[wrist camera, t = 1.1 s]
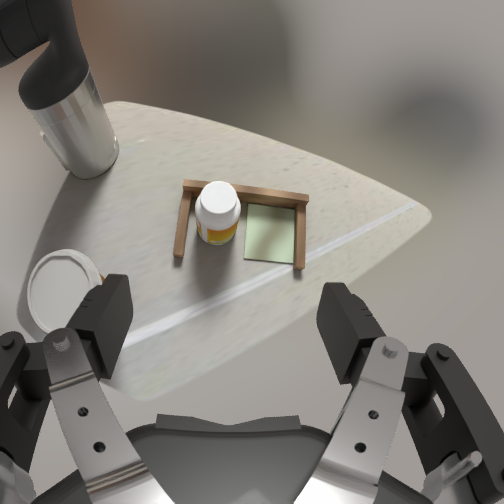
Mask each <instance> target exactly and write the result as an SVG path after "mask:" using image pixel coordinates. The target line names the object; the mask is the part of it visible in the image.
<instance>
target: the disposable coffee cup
mask: <svg viewBox="0 0 504 504" xmlns="http://www.w3.org/2000/svg"><path fill="white" fill-rule="evenodd" d="M104 280H105V278H104V277H103V276H102V275H101V274H100V273H99V272H98V269H97V267H96V266H95V265H94V264H93V262H92V261H91V260H90V259H89V258H88V257H87V256H86V255H84V254H83V253H81V252H79V251H76V250H72V249H63V250H58V251H54V252H52V253H49V254H48V255H46V256H44V257H43V258H42V259H41V260H40V261H39V262H38V263H37V265H36V266H35V267H34V269H33V271H32V273H31V275H30V279H29V282H28V288H27V300H28V306H29V310H30V313H31V315H32V317H33V319H34V321H35V322H36V324H37V325H38V326H39V327H40V328H41V329H42V330H43V331H44V332H45V333H46V334H49V333H50V332H51V331H53V330H56V329H59V328H65V327H66V325H67V323H68V322H69V320H70V319H71V317H72V315H73V314H74V312H75V311H76V309H77V308H78V307H79V305H80V303H81V302H82V301H83V298H84V297H85V296H86V294H87V293H88V291H89V290H91V289H92V288H94V287H95V286H96V285H102V283H103V282H104Z"/></svg>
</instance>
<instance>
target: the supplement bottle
mask: <svg viewBox="0 0 504 504" xmlns="http://www.w3.org/2000/svg"><path fill="white" fill-rule="evenodd" d="M240 212H241V205H240V201H239V199H238V197H237V194H236V191H235V189H234V188H233V187H232V186H231V185H230V184H228V183H226V182H223V181H214V182H211V183H209V184H207V185H206V186H205V187H204V188H203V190H202V192H201V194H200V195H199V197H198V198H197V201H196V204H195V215H196V223H197V230H198V233H199V235H200V237H201V238H202V239H203V240H204V241H205V242H207V243H209V244H212V245H222V244H225V243H227V242H228V241H230V240H231V239H232V237H233V236H234V234H235V232H236V228H237V224H238V220H239V216H240Z"/></svg>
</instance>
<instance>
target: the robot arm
mask: <svg viewBox="0 0 504 504" xmlns="http://www.w3.org/2000/svg"><path fill="white" fill-rule="evenodd" d="M47 41H50V44H49V46H48V47H47V48H46V50H45V51H44V52H43V53H42V54H41V55H40V56H39V57H38V58H37V59H36V60H35V62H34V63H33V64H32V65H31V66H30V67H29V68H28V69H27V71H26V72H25V74H24V75H23V77H22V79H21V81H20V84H19V95H20V97H21V99H22V101H23V103H24V104H25V106H26V107H27V109H28V110H29V112H30V113H31V115H32V116H33V118H34V119H35V121H36V122H37V124H38V125H39V127H40V128H41V130H42V131H43V133H44V135H43V140H44V141H45V142H46V144H47V145H48V147H49V148H50V149H51V151H52V152H53V153H54V155H55V156H56V157H57V159H58V160H59V161H60V163H61V164H62V165H63V167H64V168H65V169H66V170H70V171H71V172H72V173H73V174H74V175H75V176H77V177H79V178H82V179H89V178H94V177H96V176H99V175H101V174H102V173H104V172H105V171H106V170H108V169H109V168H110V167H111V166H112V164H113V163H114V161H115V160H116V158H117V155H118V152H119V144H118V141H117V138H116V136H115V134H114V131H113V129H112V126H111V124H110V121H109V119H108V116H107V113H106V111H105V108H104V106H103V103H102V101H101V98H100V95H99V93H98V90H97V87H96V84H95V82H94V79H93V76H92V73H91V71H90V68H89V64H88V61H87V59H86V56H85V53H84V51H83V48H82V45H81V42H80V38H79V35H78V31H77V27H76V22H75V17H74V12H73V6H72V1H71V0H0V68H1V67H4V66H6V65H8V64H10V63H12V62H14V61H15V60H17V59H18V58H20V57H22V56H23V55H25V54H26V53H28V52H30V51H31V50H33V49H35V48H36V47H38V46H40V45H42V44H43V43H45V42H47ZM132 318H133V305H132V299H131V293H130V286H129V280H128V276H127V275H122V274H108V276H107V277H106V279H105V280H104V282H103V283H102V285H96V286H95V287H94V288H92V289H91V290H89V291H88V293H87V294H86V296H85V297H84V298H83V301H82V302H81V303H80V305H79V307H78V308H77V309H76V311H75V312H74V314H73V315H72V317H71V319H70V320H69V322H68V323H67V325H66V327H65V328H59V329H56V330H53V331H51V332H50V333H49V334H48V335H47V336H46V337H45V338H44V340H43V342H37V343H26V341H25V339H24V337H23V335H22V334H21V333H19V332H15V331H14V332H13V331H12V332H7V333H5V334H3V335H1V336H0V504H494V503H496V502H498V501H499V500H501V499H502V498H504V433H503V431H502V429H501V427H500V425H499V423H498V422H497V419H496V418H495V416H494V414H493V412H492V411H491V409H490V407H489V405H488V404H487V402H486V400H485V399H484V397H483V395H482V394H481V392H480V391H479V389H478V387H477V386H476V384H475V382H474V381H473V379H472V378H471V376H470V375H469V373H468V372H467V370H466V369H465V367H464V366H463V364H462V363H461V361H460V360H459V358H458V357H457V355H456V354H455V353H454V351H453V350H452V349H451V348H449V347H448V346H446V345H443V344H440V343H434V344H431V345H430V346H429V347H428V348H427V350H426V352H425V354H424V353H415V352H408V349H407V347H406V346H405V345H404V344H403V343H402V342H401V341H399V340H397V339H395V338H392V337H387V336H386V335H385V333H384V332H383V330H382V329H381V327H380V325H379V324H378V322H377V321H376V319H375V318H374V317H373V316H372V313H371V312H370V311H369V310H368V307H367V306H366V304H365V303H364V301H363V300H362V299H360V298H359V297H358V296H356V295H355V294H351V293H350V291H349V290H348V288H347V287H346V285H345V284H344V283H338V282H327V283H325V284H324V287H323V291H322V295H321V299H320V303H319V307H318V311H317V319H316V320H317V327H318V329H319V332H320V335H321V337H322V339H323V342H324V344H325V347H326V349H327V352H328V355H329V357H330V360H331V362H332V365H333V367H334V370H335V372H336V375H337V378H338V380H339V383H340V385H341V384H349V383H351V385H352V389H351V391H350V393H349V395H348V397H347V399H346V402H345V404H344V406H343V408H342V410H341V412H340V414H339V416H338V418H337V420H336V422H335V424H334V426H333V428H332V429H331V431H330V433H327V432H325V431H323V430H320V429H317V428H314V427H311V426H306V425H301V424H300V420H299V416H298V415H297V416H285V417H267V418H261V419H257V420H253V421H249V422H244V423H240V424H235V425H222V424H218V423H214V422H209V421H206V420H202V419H198V418H194V417H187V416H174V415H164V414H157V420H156V423H154V424H148V425H143V426H140V427H137V428H135V429H132V430H130V431H128V432H127V433H125V432H124V431H123V429H122V427H121V425H120V424H119V422H118V420H117V418H116V417H115V415H114V413H113V411H112V409H111V407H110V405H109V403H108V401H107V399H106V397H105V395H104V393H103V391H102V389H101V387H100V385H99V380H100V378H105V379H111V376H112V373H113V371H114V368H115V365H116V362H117V359H118V356H119V354H120V351H121V348H122V345H123V343H124V340H125V337H126V335H127V332H128V330H129V327H130V324H131V322H132ZM14 385H15V387H16V388H17V391H16V393H15V396H14V398H13V400H12V403H11V405H10V407H9V409H8V398H9V396H10V394H11V392H12V389H13V387H14ZM436 394H438V396H439V398H440V399H441V401H442V403H443V405H444V408H445V414H444V417H442V415H441V414H440V411H439V409H438V407H437V405H436V403H435V401H434V399H433V398H434V397H435V395H436ZM50 399H52V401H53V404H54V408H55V411H56V414H57V417H58V420H59V423H60V425H61V428H62V431H63V434H64V436H65V439H66V441H67V444H68V447H69V449H70V451H71V454H72V456H73V458H74V460H75V463H76V465H77V467H78V469H77V470H76V471H74V472H73V473H71V474H70V475H68V476H67V477H66V478H64V479H63V480H62V481H60V482H59V483H57V484H56V485H54V486H53V487H51V488H50V489H49V490H47V491H46V492H44V493H43V494H41V495H40V496H38V497H37V498H36V492H35V490H34V487H33V482H32V479H31V477H30V475H29V469H30V465H31V461H32V457H33V453H34V450H35V446H36V443H37V439H38V436H39V432H40V429H41V426H42V423H43V420H44V417H45V414H46V410H47V408H48V405H49V402H50ZM401 412H402V414H403V416H404V419H405V421H406V424H407V426H408V429H409V431H410V434H411V436H412V438H413V441H414V444H415V446H416V449H417V452H418V454H419V457H420V460H421V463H422V465H423V468H424V471H425V474H426V478H425V480H424V484H423V489H422V491H421V493H419V492H417V491H416V490H414V489H412V488H410V487H409V486H407V485H405V484H404V483H402V482H401V481H399V480H397V479H396V478H394V477H392V476H391V475H389V474H388V473H386V472H384V471H383V467H384V464H385V462H386V459H387V456H388V453H389V450H390V447H391V444H392V441H393V438H394V435H395V431H396V428H397V424H398V421H399V417H400V414H401Z"/></svg>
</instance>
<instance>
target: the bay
mask: <svg viewBox="0 0 504 504" xmlns="http://www.w3.org/2000/svg"><path fill="white" fill-rule="evenodd" d="M209 183H211V182H207V181H197V180H186V179H184V182H183V196H182V202H181V207H180V213H179V219H178V225H177V231H176V238H175V245H174V251H173V255H174V257H180V258H183V256H184V248H185V241H186V234H187V227H188V221H189V214H190V208H191V202H192V196H196V197H199V195H200V194H201V192H202V190H203V188H204V187H205V186H206V185H207V184H209ZM230 185H231V186H232V187H233V188H234V189H235V191H236V194H237V197H238V199H239V201H242V202H250V203H258V204H266V205H273V206H281V207H288V208H295V210H293V209H286V208H279V207H271V206H263V205H255V204H248V214H247V226H246V238H245V250H244V258H245V259H255V260H265V261H274V262H284V263H293V269H298V270H302V269H304V268H305V238H306V205H307V203H308V202H309V195H306V194H300V193H293V192H287V191H280V190H273V189H266V188H258V187H251V186H243V185H234V184H230ZM294 215H295V229H294ZM293 253H294V261H293Z"/></svg>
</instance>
